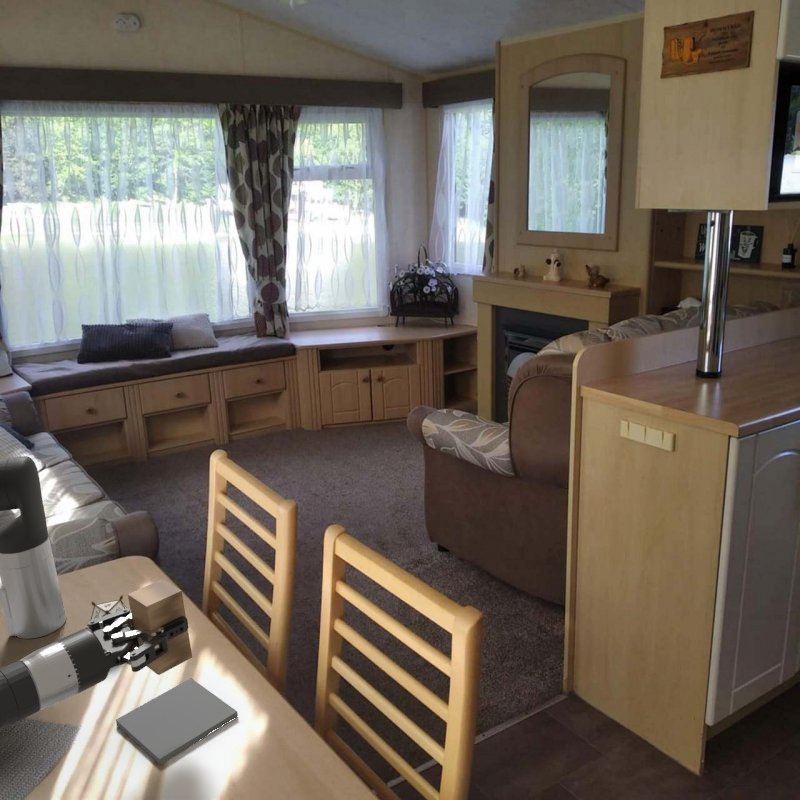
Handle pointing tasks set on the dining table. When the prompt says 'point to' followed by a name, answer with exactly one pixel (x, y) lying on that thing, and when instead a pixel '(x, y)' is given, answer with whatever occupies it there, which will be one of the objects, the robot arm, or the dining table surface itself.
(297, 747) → the dining table surface
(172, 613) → the walnut block
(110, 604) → the game die
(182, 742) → the rubber mat
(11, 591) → the robot arm
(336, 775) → the dining table surface
